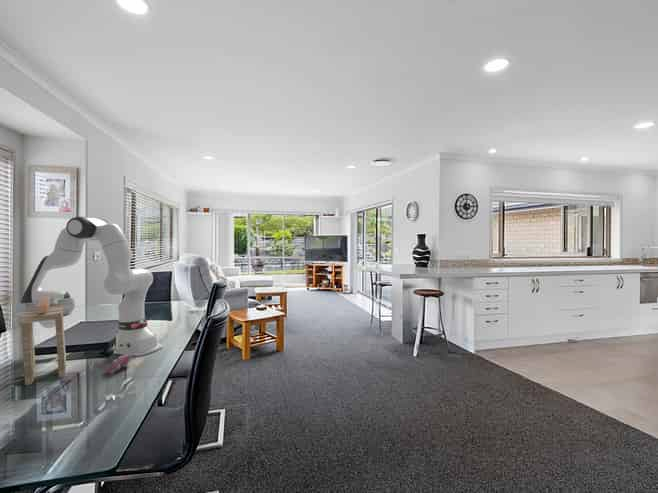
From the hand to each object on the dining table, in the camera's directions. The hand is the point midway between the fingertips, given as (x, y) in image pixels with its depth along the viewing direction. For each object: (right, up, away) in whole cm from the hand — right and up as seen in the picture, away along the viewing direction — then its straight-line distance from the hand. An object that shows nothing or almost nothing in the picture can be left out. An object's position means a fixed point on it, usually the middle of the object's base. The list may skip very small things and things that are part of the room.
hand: (45, 300), depth 145 cm
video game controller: (+35, -29, -4) cm, 46 cm away
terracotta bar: (+4, -2, -6) cm, 7 cm away
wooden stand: (+8, -29, -9) cm, 31 cm away
